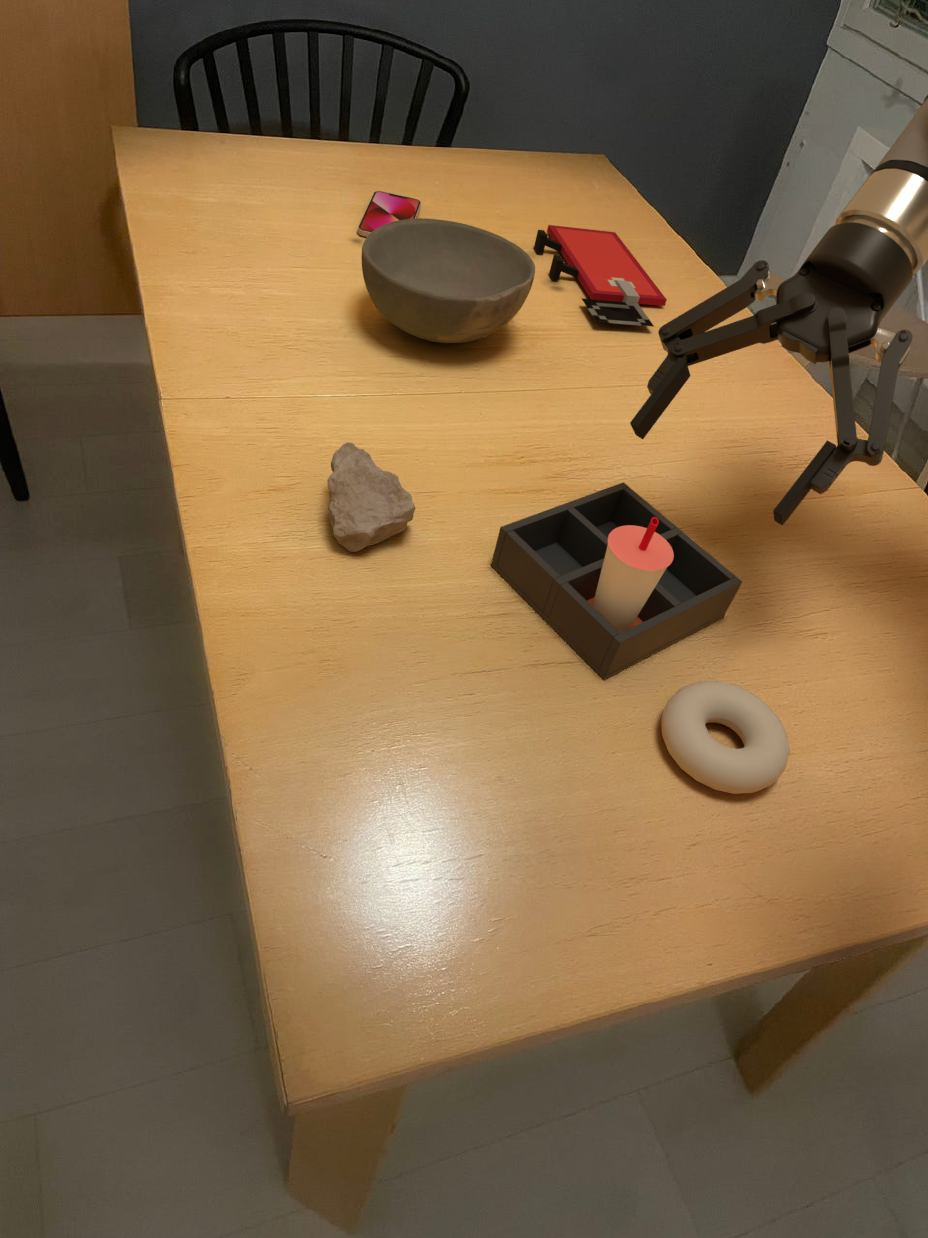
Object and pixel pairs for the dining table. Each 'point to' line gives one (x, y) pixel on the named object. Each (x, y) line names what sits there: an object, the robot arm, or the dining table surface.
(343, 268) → the dining table surface
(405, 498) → the stone
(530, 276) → the bowl
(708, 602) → the grid
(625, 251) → the red board with handle
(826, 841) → the dining table surface
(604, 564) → the cup
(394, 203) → the smartphone
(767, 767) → the donut
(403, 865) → the dining table surface
